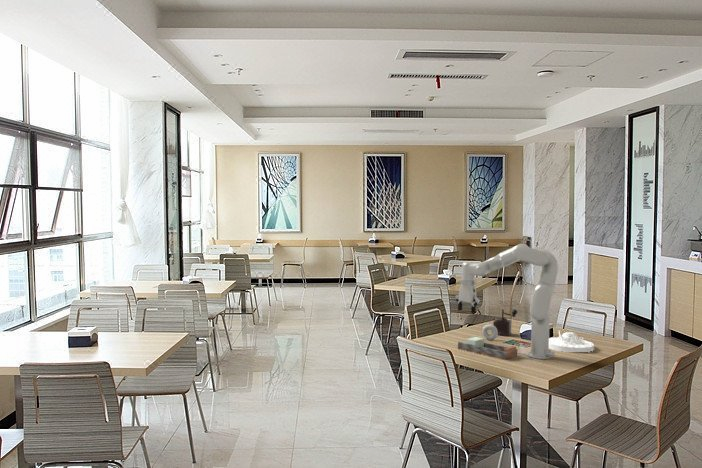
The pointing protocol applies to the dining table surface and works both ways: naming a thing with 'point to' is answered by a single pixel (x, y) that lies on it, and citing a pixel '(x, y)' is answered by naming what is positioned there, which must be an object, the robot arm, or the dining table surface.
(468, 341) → the sliding block
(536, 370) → the dining table surface
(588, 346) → the cake
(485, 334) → the donut
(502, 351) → the track
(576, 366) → the dining table surface
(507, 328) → the brown coffee grinder
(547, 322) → the robot arm
